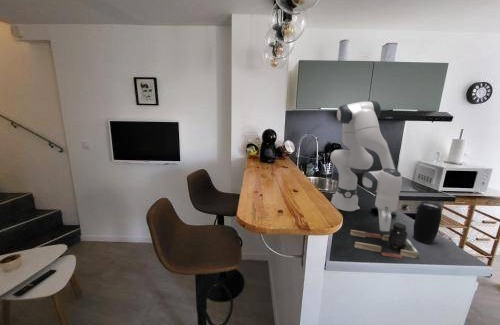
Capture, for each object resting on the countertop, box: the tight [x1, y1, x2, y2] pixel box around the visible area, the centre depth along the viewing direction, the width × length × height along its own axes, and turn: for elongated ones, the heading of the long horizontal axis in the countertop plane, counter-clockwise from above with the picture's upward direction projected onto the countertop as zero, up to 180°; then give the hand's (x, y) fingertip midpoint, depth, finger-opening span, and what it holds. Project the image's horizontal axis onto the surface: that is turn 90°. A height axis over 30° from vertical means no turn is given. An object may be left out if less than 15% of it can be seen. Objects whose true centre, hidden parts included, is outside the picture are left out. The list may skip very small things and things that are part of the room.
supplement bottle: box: [387, 222, 408, 253], centre depth 98 cm, size 7×7×12 cm
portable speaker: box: [413, 200, 442, 245], centre depth 105 cm, size 9×9×20 cm
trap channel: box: [350, 229, 420, 260], centre depth 102 cm, size 18×26×2 cm
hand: (381, 229), depth 101 cm, fingers closed
